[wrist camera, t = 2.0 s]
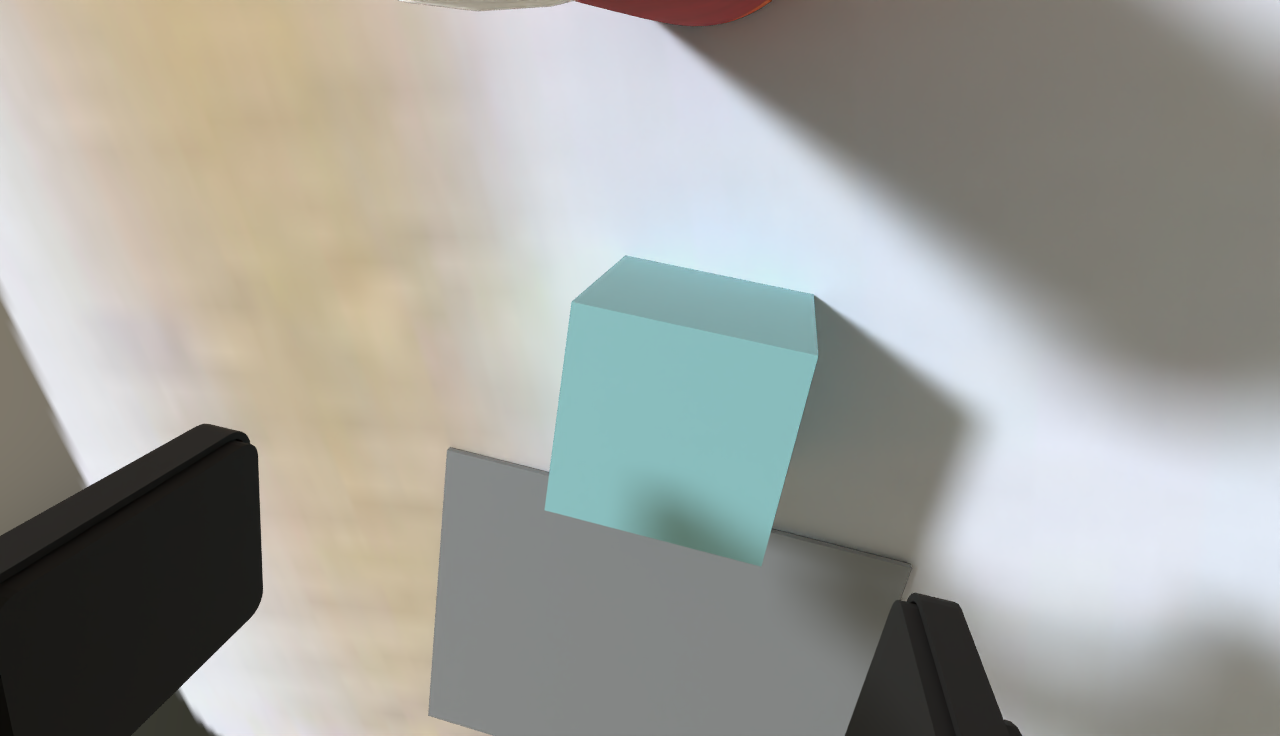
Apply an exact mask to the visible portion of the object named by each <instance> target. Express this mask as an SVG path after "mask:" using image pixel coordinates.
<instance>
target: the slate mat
mask: <svg viewBox="0 0 1280 736" xmlns="http://www.w3.org/2000/svg"><path fill="white" fill-rule="evenodd" d="M548 479H549V472H546V471H542V470H538V469H534V468H530V467H526V466H522V465H518V464H514V463H510V462H506V461H502V460H498V459H494V458H490V457H486V456H482V455H479V454H475V453H471V452H467V451H463V450H459V449H455V448H451V447H450V448H449V449H448V450H447V459H446V473H445V487H444V501H443V515H442V529H441V543H440V558H439V572H438V586H437V600H436V614H435V628H434V643H433V657H432V671H431V685H430V699H429V713H428V716H431V717H435V718H438V719H441V720H444V721H448V722H451V723H454V724H457V725H461V726H464V727H467V728H470V729H474V730H477V731H480V732H483V733H487V734H490V735H493V736H845V733H846V731H847V728H848V725H849V722H850V720H851V717H852V714H853V711H854V709H855V706H856V703H857V700H858V698H859V695H860V692H861V689H862V686H863V684H864V681H865V678H866V675H867V673H868V670H869V667H870V664H871V662H872V659H873V656H874V653H875V651H876V648H877V645H878V642H879V639H880V637H881V634H882V631H883V628H884V626H885V623H886V620H887V617H888V615H889V612H890V609H891V607H892V605H893V603H894V602H895V601H896V600H900V599H901V596H902V593H903V591H904V588H905V585H906V583H907V580H908V577H909V574H910V572H911V569H912V567H911V564H909V563H905V562H901V561H897V560H893V559H889V558H885V557H881V556H877V555H873V554H869V553H865V552H861V551H858V550H854V549H850V548H846V547H842V546H838V545H834V544H830V543H826V542H822V541H818V540H814V539H810V538H806V537H802V536H798V535H794V534H790V533H786V532H783V531H779V530H775V529H771V533H770V537H769V540H768V544H767V548H766V551H765V555H764V559H763V562H762V566H757V565H753V564H749V563H745V562H742V561H738V560H734V559H730V558H726V557H722V556H718V555H715V554H711V553H707V552H703V551H699V550H695V549H692V548H688V547H684V546H680V545H676V544H672V543H669V542H665V541H661V540H657V539H653V538H649V537H646V536H642V535H638V534H634V533H630V532H626V531H622V530H619V529H615V528H611V527H607V526H603V525H599V524H596V523H592V522H588V521H584V520H580V519H576V518H573V517H569V516H565V515H561V514H557V513H553V512H549V511H546V510H545V502H546V495H547V487H548Z"/></svg>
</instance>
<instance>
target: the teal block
mask: <svg viewBox="0 0 1280 736" xmlns="http://www.w3.org/2000/svg"><path fill="white" fill-rule="evenodd" d="M817 359H818V343H817V331H816V319H815V306H814V294H809V293H804V292H799V291H794V290H789V289H785V288H780V287H775V286H770V285H765V284H760V283H756V282H751V281H746V280H741V279H736V278H731V277H727V276H722V275H717V274H712V273H707V272H703V271H698V270H693V269H688V268H683V267H678V266H674V265H669V264H664V263H659V262H654V261H649V260H645V259H640V258H635V257H630V256H624V257H623V258H622V259H621V260H620V261H618V262H617V263H616V264H615V265H614V266H613V267H611V268H610V269H609V270H608V271H607V272H606V273H605V274H603V275H602V276H601V277H600V278H599V279H598V280H596V281H595V282H594V283H593V284H592V285H591V286H589V287H588V288H587V289H586V290H585V291H584V292H582V293H581V294H580V295H579V296H578V297H577V298H575V299H574V300H573V301H572V303H571V310H570V318H569V326H568V333H567V341H566V349H565V356H564V364H563V372H562V379H561V387H560V395H559V402H558V410H557V418H556V426H555V433H554V441H553V449H552V456H551V464H550V472H549V479H548V487H547V495H546V502H545V510H546V511H549V512H553V513H557V514H561V515H565V516H569V517H573V518H576V519H580V520H584V521H588V522H592V523H596V524H599V525H603V526H607V527H611V528H615V529H619V530H622V531H626V532H630V533H634V534H638V535H642V536H646V537H649V538H653V539H657V540H661V541H665V542H669V543H672V544H676V545H680V546H684V547H688V548H692V549H695V550H699V551H703V552H707V553H711V554H715V555H718V556H722V557H726V558H730V559H734V560H738V561H742V562H745V563H749V564H753V565H757V566H762V562H763V559H764V555H765V551H766V548H767V544H768V540H769V537H770V533H771V529H772V525H773V522H774V518H775V514H776V511H777V507H778V503H779V500H780V496H781V492H782V489H783V485H784V481H785V478H786V474H787V470H788V466H789V463H790V459H791V455H792V452H793V448H794V444H795V441H796V437H797V433H798V430H799V426H800V422H801V418H802V415H803V411H804V407H805V404H806V400H807V396H808V393H809V389H810V385H811V382H812V378H813V374H814V371H815V367H816V363H817Z"/></svg>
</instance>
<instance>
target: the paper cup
mask: <svg viewBox="0 0 1280 736" xmlns="http://www.w3.org/2000/svg"><path fill="white" fill-rule="evenodd" d="M399 1H402V2H406V3H414V4H423V5H431V6H439V7H447V8H455V9H463V10H471V11H489V10H504V9H520V8H535V7H551V6H555V5H559V4H563V3H567V2H571V1H576V2H580V3H584V4H588V5H592V6H596V7H600V8H603V9H607V10H611V11H615V12H620V13H624V14H628V15H632V16H636V17H640V18H644V19H649V20H654V21H658V22H663V23H669V24H675V25H683V26H709V25H717V24H722V23H726V22H730V21H734V20H737V19H739V18H742V17H744V16H747V15H749V14H751V13H753V12H755V11H757V10H758V9H760V8H762V7H763V6H765V5H766V4H768V3H769V2H771V1H772V0H399Z"/></svg>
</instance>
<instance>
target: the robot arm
mask: <svg viewBox="0 0 1280 736" xmlns="http://www.w3.org/2000/svg"><path fill="white" fill-rule="evenodd" d="M262 594H263V578H262V551H261V525H260V498H259V471H258V453H257V449H256V448H255V446H253V445H252V444H250V440H249V438H248V436H247V435H246V434H244V433H243V432H240V431H236V430H232V429H227V428H223V427H219V426H215V425H211V424H201V425H199V426H196V427H194V428H193V429H191V430H189V431H187V432H185V433H184V434H182V435H180V436H178V437H177V438H175V439H173V440H171V441H169V442H168V443H166V444H164V445H162V446H160V447H159V448H157V449H155V450H153V451H151V452H150V453H148V454H146V455H144V456H143V457H141V458H139V459H137V460H135V461H134V462H132V463H130V464H128V465H126V466H125V467H123V468H121V469H119V470H117V471H116V472H114V473H112V474H110V475H109V476H107V477H105V478H103V479H101V480H100V481H98V482H96V483H94V484H92V485H91V486H89V487H87V488H85V489H84V490H82V491H80V492H78V493H76V494H75V495H73V496H71V497H69V498H68V499H66V500H64V501H62V502H60V503H58V504H57V505H55V506H53V507H51V508H49V509H48V510H46V511H44V512H43V513H41V514H39V515H37V516H35V517H33V518H32V519H30V520H28V521H26V522H25V523H23V524H21V525H19V526H17V527H16V528H14V529H12V530H10V531H8V532H7V533H5V534H3V535H1V536H0V736H131V735H132V734H133V733H134V732H135V731H136V730H137V729H138V728H139V727H140V726H141V725H142V724H143V723H144V722H145V721H146V720H147V719H148V718H149V717H150V716H151V715H152V714H153V713H154V712H155V711H156V710H157V709H158V708H159V707H160V706H161V705H162V704H163V703H164V702H165V701H166V700H167V699H168V698H170V696H172V695H173V694H174V693H175V692H176V691H177V690H178V689H179V688H180V687H181V686H182V685H183V684H184V683H185V682H186V681H187V680H188V679H189V678H190V677H191V676H192V675H193V674H194V673H195V672H196V671H197V670H198V669H199V668H200V667H201V666H202V665H203V664H204V663H205V662H206V661H207V660H208V659H209V658H210V657H211V656H212V655H213V654H214V653H215V652H216V651H217V650H218V649H219V648H220V647H221V646H222V645H223V644H224V643H225V642H226V641H227V640H228V639H229V638H230V637H231V636H232V635H233V634H234V633H236V632H237V631H238V630H239V629H240V628H241V627H242V626H243V625H244V624H245V623H246V622H247V621H248V620H249V619H250V618H251V617H252V615H253V614H254V613H255V611H256V610H257V608H258V606H259V604H260V602H261V598H262ZM845 736H1022V735H1021V733H1020V731H1019V729H1018V728H1017V727H1016V726H1015V725H1014V724H1013V723H1012V722H1011V721H1007V720H1003V717H1002V715H1001V712H1000V710H999V707H998V704H997V702H996V699H995V696H994V694H993V691H992V688H991V686H990V683H989V681H988V678H987V675H986V673H985V670H984V667H983V665H982V662H981V659H980V657H979V654H978V652H977V649H976V646H975V644H974V641H973V638H972V636H971V633H970V630H969V628H968V625H967V622H966V620H965V617H964V615H963V612H962V609H961V608H960V606H959V604H957V603H955V602H952V601H948V600H943V599H939V598H935V597H931V596H927V595H922V594H918V593H913V594H911V595H910V596H909V598H908V600H907V602H905V601H901V600H896V601H895V602H894V603H893V605H892V607H891V609H890V612H889V615H888V617H887V620H886V623H885V626H884V628H883V631H882V634H881V637H880V639H879V642H878V645H877V648H876V651H875V653H874V656H873V659H872V662H871V664H870V667H869V670H868V673H867V675H866V678H865V681H864V684H863V686H862V689H861V692H860V695H859V698H858V700H857V703H856V706H855V709H854V711H853V714H852V717H851V720H850V722H849V725H848V728H847V731H846V733H845Z"/></svg>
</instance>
